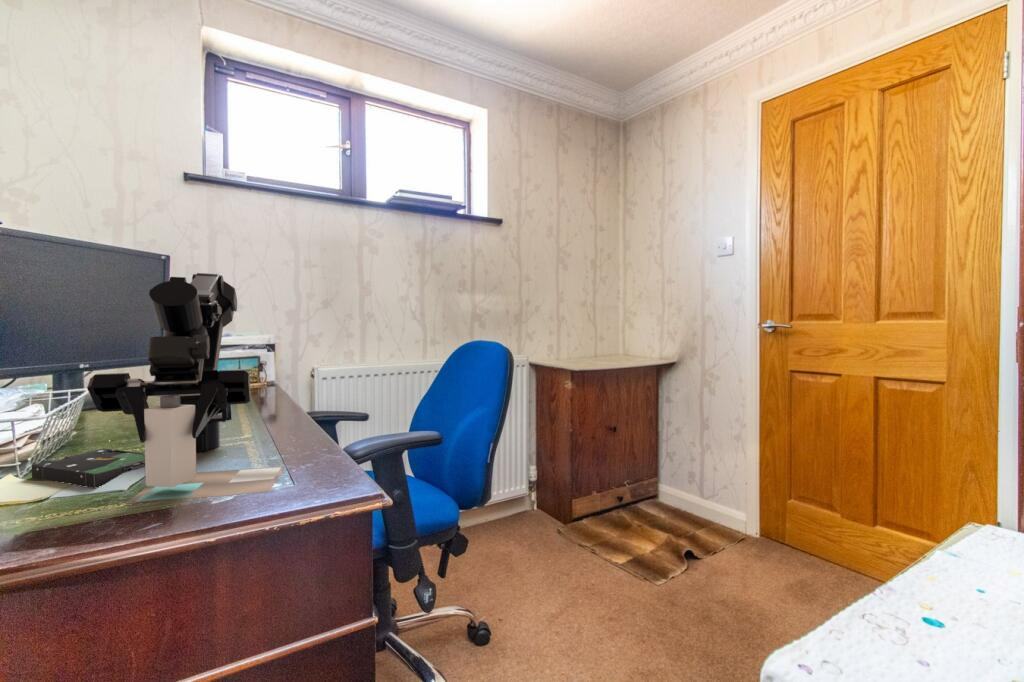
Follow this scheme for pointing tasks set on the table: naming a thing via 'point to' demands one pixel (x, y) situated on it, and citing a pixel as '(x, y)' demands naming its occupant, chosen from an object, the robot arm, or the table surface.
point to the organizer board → (214, 485)
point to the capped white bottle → (169, 443)
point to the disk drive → (89, 467)
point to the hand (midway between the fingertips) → (168, 438)
